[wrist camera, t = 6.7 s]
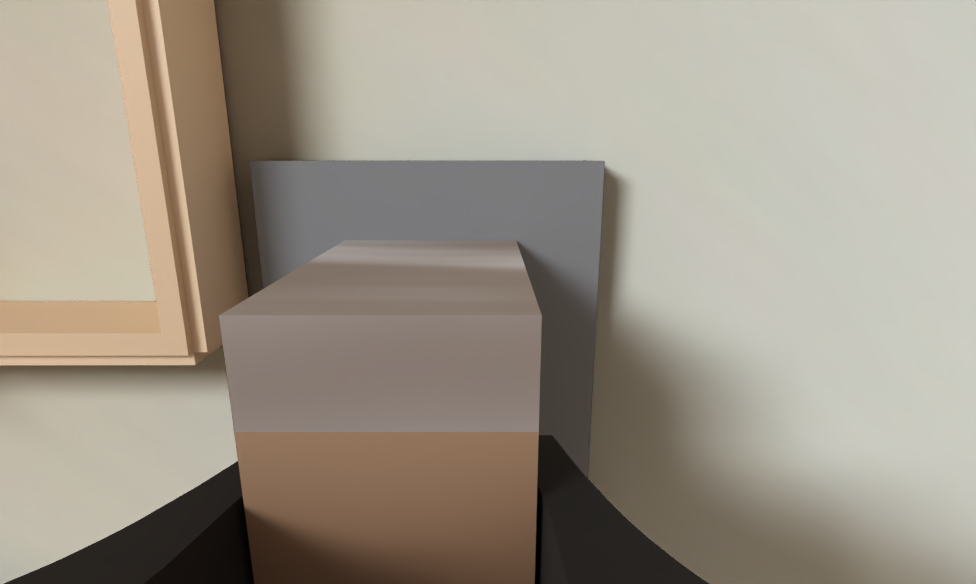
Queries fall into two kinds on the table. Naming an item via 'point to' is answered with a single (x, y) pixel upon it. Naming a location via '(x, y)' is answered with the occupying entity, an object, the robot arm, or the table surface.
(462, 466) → the walnut box
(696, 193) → the table surface
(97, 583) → the robot arm
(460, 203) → the slate mat
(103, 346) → the wooden drawer
